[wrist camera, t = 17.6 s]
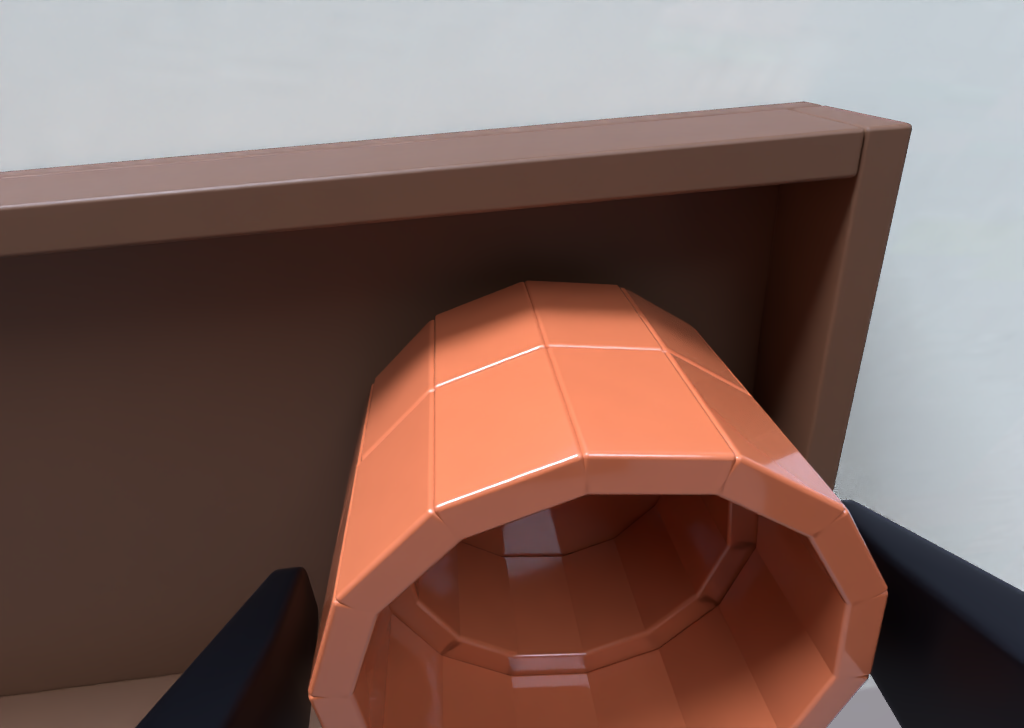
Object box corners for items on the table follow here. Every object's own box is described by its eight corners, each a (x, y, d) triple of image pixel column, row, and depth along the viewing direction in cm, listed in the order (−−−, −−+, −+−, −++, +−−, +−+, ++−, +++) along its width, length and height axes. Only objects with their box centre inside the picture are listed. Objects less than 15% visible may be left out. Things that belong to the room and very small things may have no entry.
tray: (807, 100, 10) (915, 123, 8) (737, 595, 15) (790, 696, 13) (-892, 249, 9) (-1365, 330, 6) (-332, 733, 14) (-484, 872, 12)
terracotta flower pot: (749, 503, 13) (906, 745, 9) (446, 610, 14) (450, 888, 9) (676, 206, 10) (865, 351, 6) (286, 359, 10) (179, 602, 6)
